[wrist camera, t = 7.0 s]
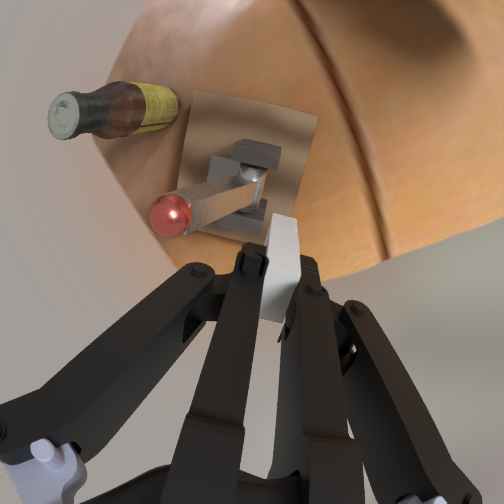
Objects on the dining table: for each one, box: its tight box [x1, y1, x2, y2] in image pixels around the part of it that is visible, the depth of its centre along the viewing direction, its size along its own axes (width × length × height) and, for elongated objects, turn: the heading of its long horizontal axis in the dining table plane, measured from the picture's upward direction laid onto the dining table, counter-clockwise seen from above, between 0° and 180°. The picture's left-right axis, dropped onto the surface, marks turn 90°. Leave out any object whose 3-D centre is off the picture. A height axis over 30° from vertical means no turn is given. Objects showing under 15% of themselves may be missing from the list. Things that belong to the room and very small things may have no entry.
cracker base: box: [177, 90, 319, 246], centre depth 31 cm, size 18×15×12 cm
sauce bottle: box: [48, 81, 181, 140], centre depth 25 cm, size 6×6×20 cm
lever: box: [149, 154, 268, 238], centre depth 24 cm, size 4×7×16 cm, turn 77°
